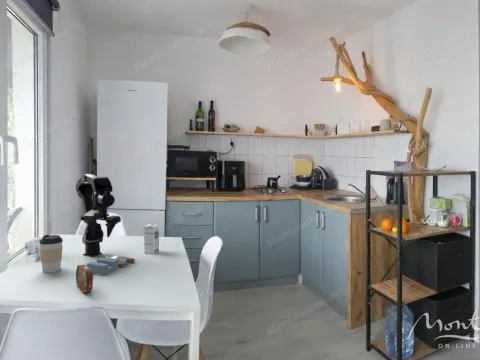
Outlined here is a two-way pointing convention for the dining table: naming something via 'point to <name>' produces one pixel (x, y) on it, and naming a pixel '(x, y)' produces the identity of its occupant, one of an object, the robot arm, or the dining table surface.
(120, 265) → the guide channel
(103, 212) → the robot arm
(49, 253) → the coffee cup
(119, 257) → the axle
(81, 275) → the tin
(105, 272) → the v block
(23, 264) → the dining table surface
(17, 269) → the dining table surface
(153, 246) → the syrup box
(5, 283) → the dining table surface
